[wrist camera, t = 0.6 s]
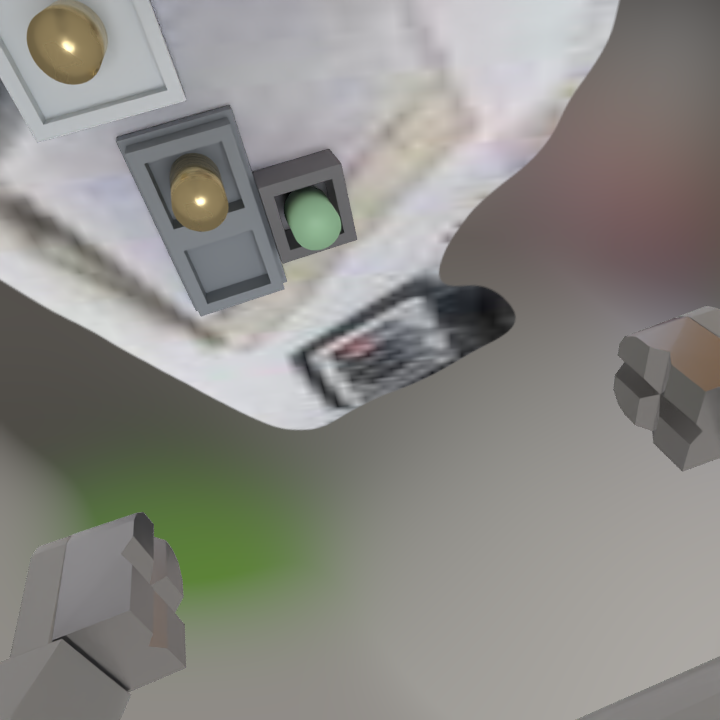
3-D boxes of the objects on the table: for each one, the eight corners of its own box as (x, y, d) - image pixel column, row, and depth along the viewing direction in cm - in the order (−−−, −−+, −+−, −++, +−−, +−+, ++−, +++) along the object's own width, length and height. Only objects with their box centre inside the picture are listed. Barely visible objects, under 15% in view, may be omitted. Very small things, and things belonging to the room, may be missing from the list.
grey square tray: (-60, -45, 34) (-69, -44, 32) (117, -88, 35) (116, -88, 33) (41, 135, 41) (37, 142, 39) (185, 95, 42) (186, 100, 40)
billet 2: (161, 161, 43) (162, 188, 38) (210, 146, 43) (217, 171, 39) (181, 208, 46) (184, 238, 41) (227, 194, 46) (235, 222, 41)
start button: (278, 194, 46) (287, 212, 43) (323, 180, 46) (335, 197, 43) (290, 236, 48) (300, 256, 45) (333, 222, 49) (345, 241, 46)
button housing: (251, 172, 47) (258, 188, 44) (329, 148, 47) (341, 163, 44) (274, 244, 51) (282, 263, 48) (345, 221, 52) (357, 239, 49)
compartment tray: (117, 137, 42) (114, 149, 40) (229, 105, 43) (234, 115, 41) (195, 304, 52) (197, 322, 50) (284, 275, 53) (291, 291, 51)
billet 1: (29, 7, 36) (11, 18, 31) (89, -8, 36) (81, 0, 32) (62, 73, 38) (50, 92, 34) (118, 58, 39) (114, 74, 34)
